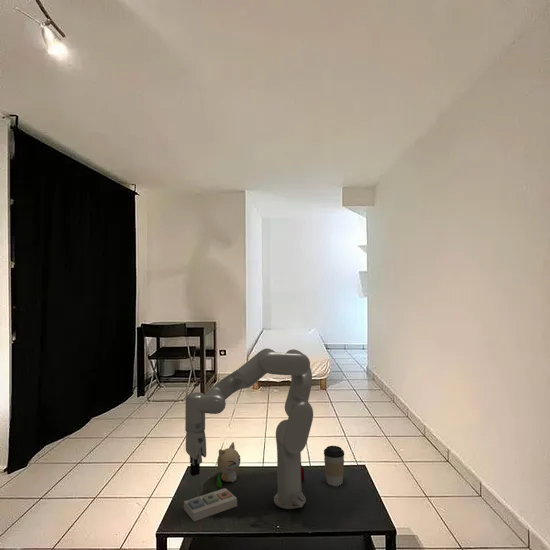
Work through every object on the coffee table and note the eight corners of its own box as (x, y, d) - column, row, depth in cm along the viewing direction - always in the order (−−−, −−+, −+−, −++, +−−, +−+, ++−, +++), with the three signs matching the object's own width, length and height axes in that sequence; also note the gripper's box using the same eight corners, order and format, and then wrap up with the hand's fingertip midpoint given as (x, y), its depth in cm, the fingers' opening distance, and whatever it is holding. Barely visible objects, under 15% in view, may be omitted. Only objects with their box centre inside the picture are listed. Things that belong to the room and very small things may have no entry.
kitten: (226, 490, 170) (226, 454, 170) (208, 484, 175) (208, 450, 175) (247, 476, 182) (246, 442, 183) (229, 471, 188) (229, 438, 188)
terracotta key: (232, 501, 159) (232, 495, 159) (221, 505, 157) (221, 498, 157) (227, 496, 163) (226, 490, 163) (216, 500, 160) (216, 493, 160)
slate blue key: (204, 509, 152) (204, 502, 153) (192, 513, 150) (192, 506, 150) (199, 503, 156) (199, 497, 156) (188, 507, 154) (188, 501, 154)
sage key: (218, 504, 156) (218, 497, 156) (207, 508, 153) (207, 501, 153) (213, 499, 160) (213, 492, 160) (202, 502, 157) (202, 496, 157)
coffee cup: (332, 475, 182) (331, 442, 182) (349, 482, 175) (348, 447, 176) (320, 482, 175) (319, 447, 176) (337, 489, 169) (336, 453, 169)
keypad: (237, 506, 157) (237, 498, 157) (193, 521, 147) (193, 513, 147) (225, 495, 166) (225, 488, 166) (183, 509, 156) (183, 501, 156)
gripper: (212, 429, 150) (212, 479, 149) (196, 419, 162) (196, 465, 162) (193, 433, 146) (193, 485, 145) (178, 422, 158) (178, 469, 158)
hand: (194, 474), depth 154 cm, fingers closed
